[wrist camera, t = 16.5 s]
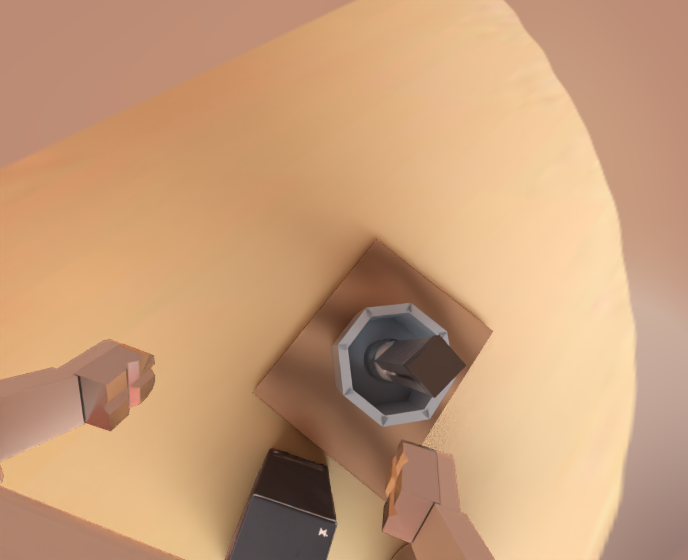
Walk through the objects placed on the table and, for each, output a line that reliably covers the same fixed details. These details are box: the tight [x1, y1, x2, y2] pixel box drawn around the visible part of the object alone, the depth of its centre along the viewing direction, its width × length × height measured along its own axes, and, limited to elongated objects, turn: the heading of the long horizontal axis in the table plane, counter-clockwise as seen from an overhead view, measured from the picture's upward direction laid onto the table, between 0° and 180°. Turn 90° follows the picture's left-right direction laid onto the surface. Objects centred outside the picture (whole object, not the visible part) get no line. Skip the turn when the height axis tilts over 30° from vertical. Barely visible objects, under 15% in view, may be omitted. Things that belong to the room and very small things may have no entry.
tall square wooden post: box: [364, 335, 466, 398], centre depth 26 cm, size 4×4×13 cm
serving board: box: [252, 239, 493, 501], centre depth 34 cm, size 20×16×2 cm
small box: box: [225, 449, 337, 560], centre depth 26 cm, size 11×6×10 cm, turn 161°
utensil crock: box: [331, 303, 455, 427], centre depth 30 cm, size 10×10×6 cm
